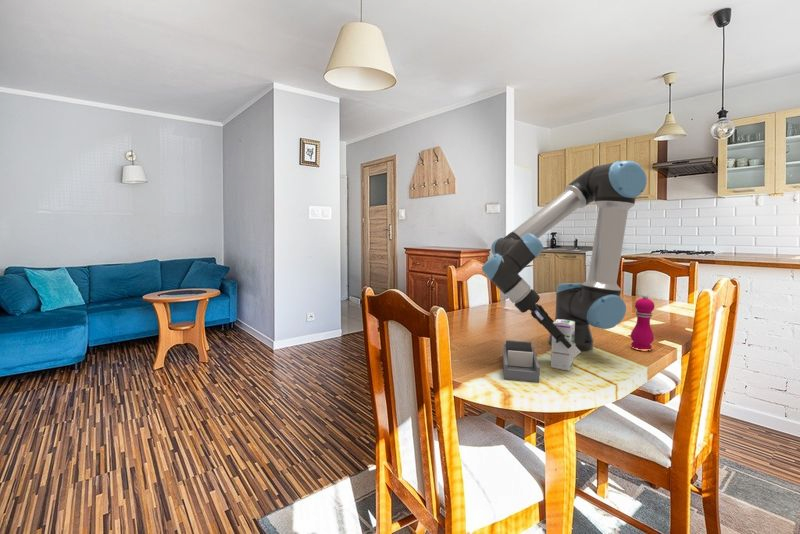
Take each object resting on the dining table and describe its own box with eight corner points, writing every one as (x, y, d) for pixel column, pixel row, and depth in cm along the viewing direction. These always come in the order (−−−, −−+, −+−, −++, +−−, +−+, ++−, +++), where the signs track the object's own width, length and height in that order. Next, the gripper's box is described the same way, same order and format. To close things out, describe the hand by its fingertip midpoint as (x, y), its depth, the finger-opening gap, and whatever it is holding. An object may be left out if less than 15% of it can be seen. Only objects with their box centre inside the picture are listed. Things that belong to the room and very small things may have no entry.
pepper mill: (651, 347, 149) (656, 293, 147) (654, 353, 142) (659, 296, 140) (628, 344, 152) (632, 291, 150) (630, 350, 145) (634, 295, 143)
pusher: (506, 359, 131) (507, 345, 131) (530, 361, 130) (531, 347, 129) (507, 365, 126) (507, 351, 125) (532, 367, 124) (533, 353, 123)
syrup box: (570, 371, 124) (572, 324, 122) (549, 367, 127) (552, 321, 125) (573, 365, 129) (576, 320, 127) (553, 362, 132) (556, 318, 130)
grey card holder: (502, 356, 137) (503, 339, 136) (532, 359, 134) (533, 342, 134) (504, 379, 117) (504, 359, 117) (539, 382, 115) (540, 362, 114)
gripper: (512, 298, 139) (560, 348, 137) (514, 310, 119) (570, 369, 118) (529, 283, 137) (578, 334, 135) (534, 293, 118) (591, 352, 116)
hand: (574, 350), depth 126 cm, fingers closed on syrup box, 7 cm apart
